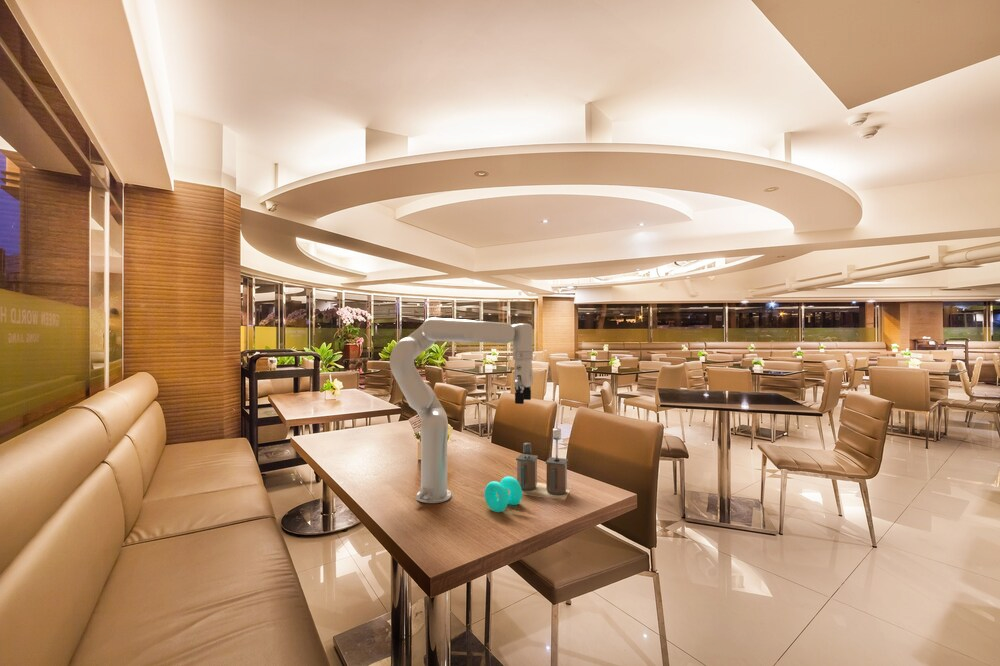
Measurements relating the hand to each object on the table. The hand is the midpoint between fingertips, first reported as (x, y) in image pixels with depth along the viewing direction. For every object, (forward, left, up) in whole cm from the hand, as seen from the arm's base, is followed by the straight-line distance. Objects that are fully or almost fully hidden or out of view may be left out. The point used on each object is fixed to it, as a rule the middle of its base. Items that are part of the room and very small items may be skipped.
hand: (523, 401), depth 156 cm
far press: (+2, -1, -33) cm, 33 cm away
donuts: (-16, +2, -35) cm, 38 cm away
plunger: (+3, -12, -25) cm, 28 cm away
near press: (+2, -12, -33) cm, 36 cm away
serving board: (+3, -7, -35) cm, 35 cm away
